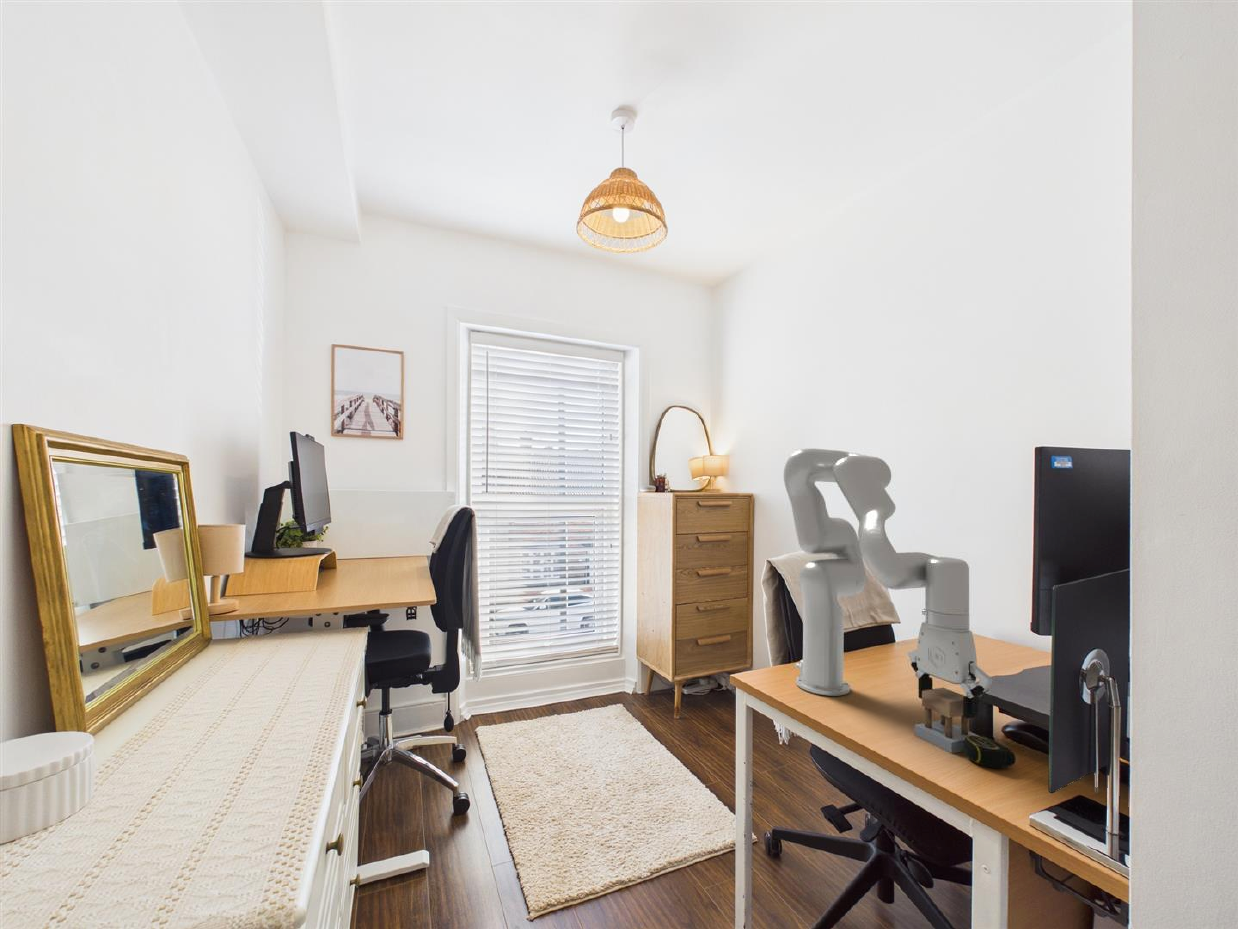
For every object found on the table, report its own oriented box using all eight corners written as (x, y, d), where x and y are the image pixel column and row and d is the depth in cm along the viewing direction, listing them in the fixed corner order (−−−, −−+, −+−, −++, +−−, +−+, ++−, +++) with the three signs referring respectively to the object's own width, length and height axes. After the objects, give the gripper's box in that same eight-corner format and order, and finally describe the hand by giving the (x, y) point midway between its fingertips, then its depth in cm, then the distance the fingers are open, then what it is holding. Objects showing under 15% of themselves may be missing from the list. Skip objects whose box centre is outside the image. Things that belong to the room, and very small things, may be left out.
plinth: (914, 734, 109) (914, 724, 109) (943, 729, 111) (943, 719, 111) (951, 753, 101) (951, 742, 101) (981, 747, 104) (981, 736, 104)
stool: (921, 726, 108) (922, 690, 108) (943, 722, 110) (943, 687, 111) (949, 739, 103) (949, 702, 103) (971, 735, 105) (971, 698, 105)
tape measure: (1018, 771, 95) (1018, 750, 95) (983, 773, 94) (983, 751, 95) (987, 753, 102) (986, 732, 102) (954, 754, 101) (954, 734, 101)
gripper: (896, 611, 114) (896, 693, 113) (975, 632, 98) (976, 728, 97) (922, 609, 117) (922, 689, 116) (1003, 630, 100) (1004, 723, 100)
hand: (947, 707), depth 106 cm, fingers open, 9 cm apart
